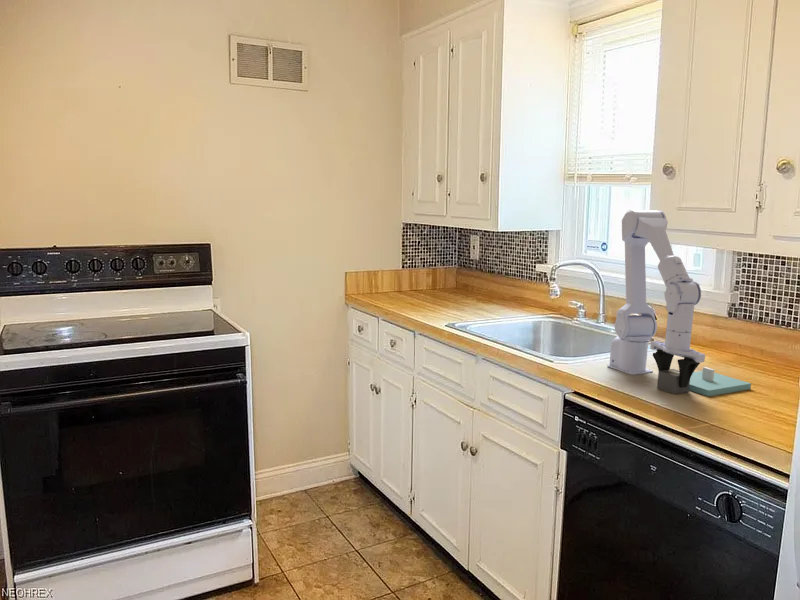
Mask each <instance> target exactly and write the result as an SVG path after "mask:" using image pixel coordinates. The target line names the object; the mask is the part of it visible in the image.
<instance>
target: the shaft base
mask: <svg viewBox="0 0 800 600" xmlns="http://www.w3.org/2000/svg"><path fill="white" fill-rule="evenodd" d="M751 387H752V383H751V382H747V381H744V380H741V379H737V378H734V377H730V376H727V375H724V374H720V373H717V372H715V369H713V368H710V367H707V366H703V368H702V370H700V371H694V372H693V374H692V376H691V378H690V385H689V391H691V392H694V393H696V394H699V395H702V396H706V397H712V396H713V397H714V396H718V395H724V394H725V395H726V394H730V393H735V392H741V391H747V390H751V389H752V388H751Z"/></svg>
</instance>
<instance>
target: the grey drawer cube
mask: <svg viewBox="0 0 800 600" xmlns="http://www.w3.org/2000/svg"><path fill="white" fill-rule="evenodd" d="M689 385H690V380H689V383H688V385H687V387H683V388H681V387H679V369H675V368H670V369H669V370H661V371H658V373H657V385H656V389H658V390H661V391H664V392H666V393H670V394H672V395H677V394H683V393H688V392H689V391H690V390H689Z"/></svg>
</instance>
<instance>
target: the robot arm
mask: <svg viewBox="0 0 800 600" xmlns="http://www.w3.org/2000/svg"><path fill="white" fill-rule="evenodd" d="M668 223H669V222H668V219H667V216H666V214H665V212H664V211H663V210H660V209H659V210H658V209H657V210H643V209H639V210H638V209H628V210H627V211H626V212H625V214H624V215H623V217H622V218H621V237H622V238H621V239H622V240H621V241H623V242H624V267H625V268H624V271H625V273H624V275H625V276H624V277H625V279H624V280H625V304H624V305H622V306H621V307H620V308H619V309H617V311H616V318H615V322H614V330H615V334H616V335H617V336H616V337H614V339H613V340H612V341H611V343H610V344H611V345H610V351H609V352H610V355H609V363H608V364H607V365H606V366H607V367H608V368H611V369H613V370H617V371H620V372H623V373H625V374H628V375H631V376H636V375H641V374H642V375H643V374H648V373H650V374H651V373H653V370H652V369H650V368H647V359H648V348H649V346H650V348H649V349H650V350H652V351H655V350H656V351H655V352H653V353H652V357H653V359H654V361H655V363H656V366H657V370H658V372H659V371H661V370H669V369H671V365H672V361H673V359H674V356H676V357H679V358H681V359H677V364H678V370H679V387H681V388H683V387H687V385H688V383H689V380H690V378H691V376H692V374H693V372H695V371H696V369H697V368H698V366H699V365H701V363H705V360H706V359H705V358H706V354H705V353H702V352H699V351H697V350H695V349H692V348H691V339H692V332H693V321H694V320H693V319H694V312H695V306H696V305H698V303H700V300H701V299H702V298H701V297H702V289H701V287H700V284H699V282H697V281H695V280H694V279H693V278H691V277H690V276H689V274H688V272H687V269H686V267H685V266H684V263H683V261H682V259H681V257H679V256H677V255H674V251H673V248H672V245H671V244H670V243H671V242H670V240H669V237H668V234H667V231H666V230H667V228H668ZM648 243H649V244H650V245H651V247H652V248H653V251H654V252H655V254H656V256H657V258H658V259H659V262H658V264H657V269H658V271H659V274H660V276H661V278H662V280H663V282H664V286H665V287H666V288H665V291H664V295H663V296H664V299H665V303H666V306H665V309H666V311H667V320H666V331H665V338H664V340H665V341H664V342H662V341H658V340H655V341H652V338H654V336H655V335H656V333H657V331H658V323H657V320H656V316H655V310H654V309H653V308H652V307H651V306H650V305H648V304H647V284H646V283H647V281H646V280H647V279H646V246H647V245H648ZM632 314H633V315H632ZM635 314H638V315H635ZM649 342H650V345H649Z"/></svg>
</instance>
